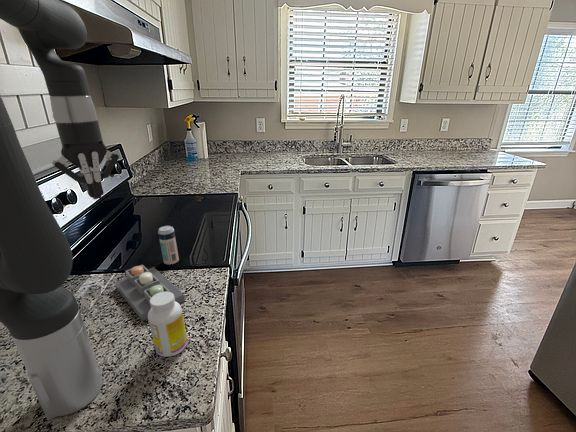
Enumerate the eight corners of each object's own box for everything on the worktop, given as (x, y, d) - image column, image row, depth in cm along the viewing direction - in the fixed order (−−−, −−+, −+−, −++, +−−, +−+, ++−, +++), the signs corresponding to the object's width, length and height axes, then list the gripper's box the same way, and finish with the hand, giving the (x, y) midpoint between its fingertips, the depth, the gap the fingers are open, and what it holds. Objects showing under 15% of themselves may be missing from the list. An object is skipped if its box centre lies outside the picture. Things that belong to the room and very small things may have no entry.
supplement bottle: (191, 334, 72) (183, 287, 67) (183, 357, 65) (174, 308, 60) (161, 335, 71) (151, 288, 66) (150, 359, 65) (139, 309, 60)
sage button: (154, 303, 78) (152, 294, 77) (149, 297, 80) (147, 288, 79) (166, 297, 80) (165, 288, 79) (161, 292, 82) (159, 283, 81)
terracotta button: (135, 281, 87) (133, 273, 86) (130, 277, 89) (128, 268, 88) (146, 277, 89) (144, 268, 88) (142, 272, 91) (140, 264, 90)
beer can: (181, 257, 103) (175, 224, 99) (176, 265, 99) (171, 231, 94) (166, 258, 103) (160, 225, 99) (161, 265, 99) (155, 231, 94)
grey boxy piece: (142, 321, 76) (139, 306, 74) (116, 287, 88) (112, 274, 86) (184, 300, 83) (182, 286, 81) (154, 272, 95) (152, 259, 94)
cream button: (143, 289, 82) (141, 280, 81) (139, 284, 84) (137, 275, 83) (155, 284, 84) (153, 275, 83) (150, 279, 86) (149, 270, 85)
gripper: (40, 123, 58) (67, 209, 65) (116, 118, 67) (132, 194, 73) (34, 120, 63) (59, 201, 70) (105, 115, 72) (121, 188, 78)
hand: (97, 197), depth 72 cm, fingers closed
